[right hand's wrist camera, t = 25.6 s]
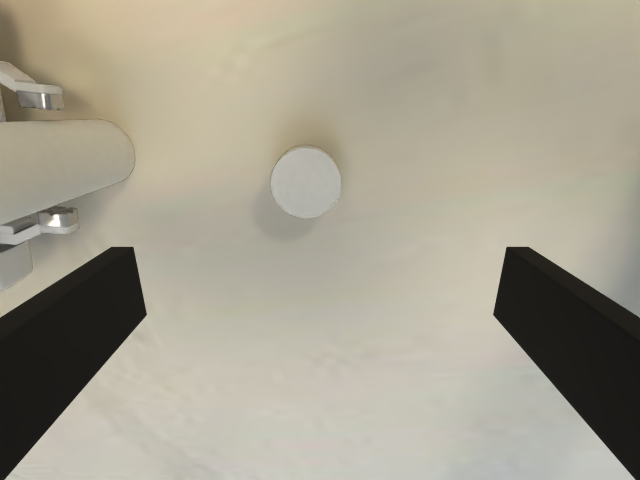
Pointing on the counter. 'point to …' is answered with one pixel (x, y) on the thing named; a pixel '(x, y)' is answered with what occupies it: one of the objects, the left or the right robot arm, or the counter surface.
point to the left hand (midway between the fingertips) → (66, 163)
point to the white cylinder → (306, 182)
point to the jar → (58, 162)
